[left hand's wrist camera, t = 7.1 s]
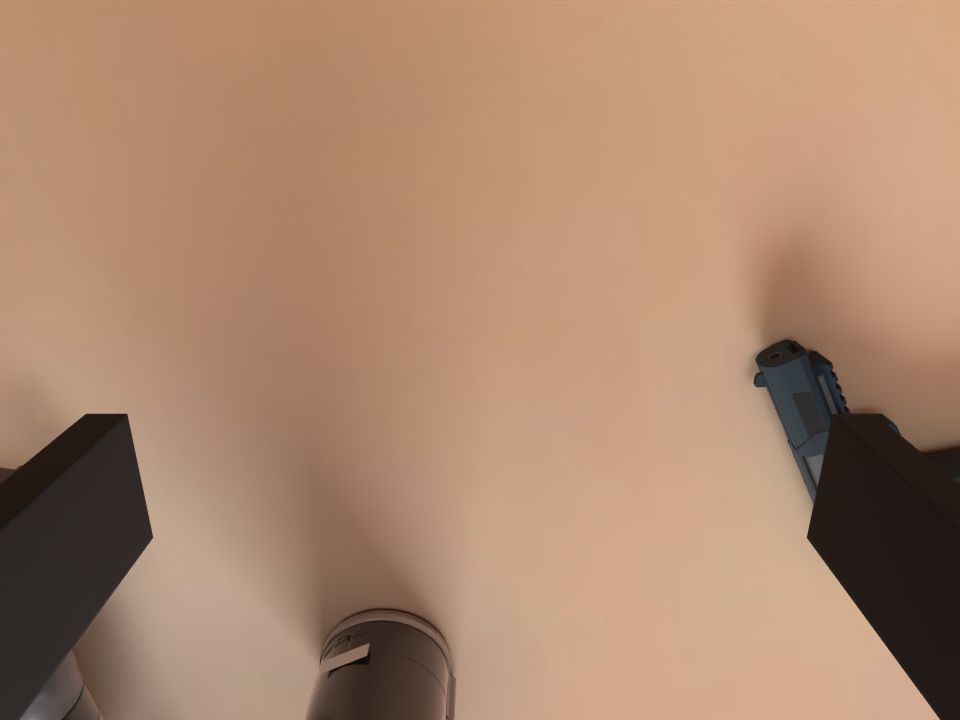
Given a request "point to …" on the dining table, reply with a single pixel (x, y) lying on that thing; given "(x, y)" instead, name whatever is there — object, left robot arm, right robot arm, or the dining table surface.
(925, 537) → the left robot arm
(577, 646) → the dining table surface
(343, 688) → the right robot arm
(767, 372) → the handgun
